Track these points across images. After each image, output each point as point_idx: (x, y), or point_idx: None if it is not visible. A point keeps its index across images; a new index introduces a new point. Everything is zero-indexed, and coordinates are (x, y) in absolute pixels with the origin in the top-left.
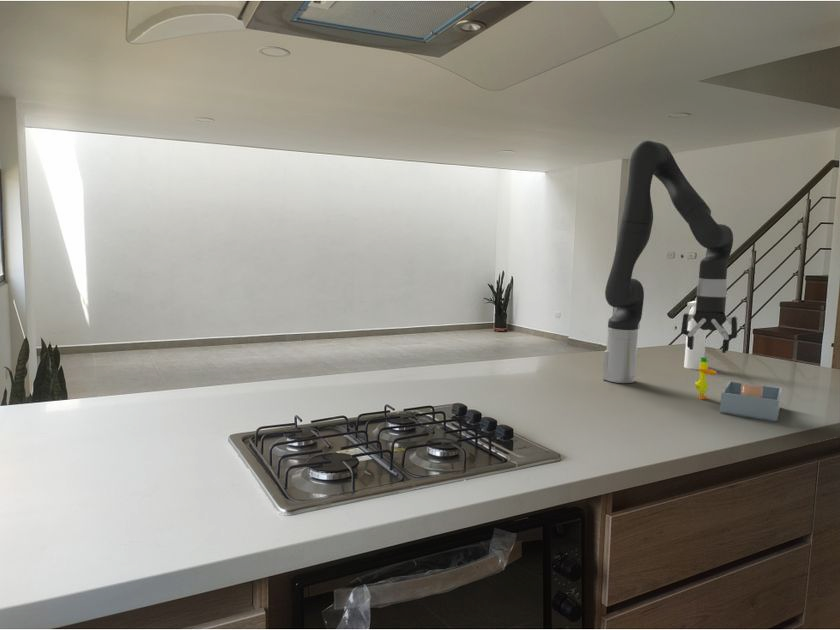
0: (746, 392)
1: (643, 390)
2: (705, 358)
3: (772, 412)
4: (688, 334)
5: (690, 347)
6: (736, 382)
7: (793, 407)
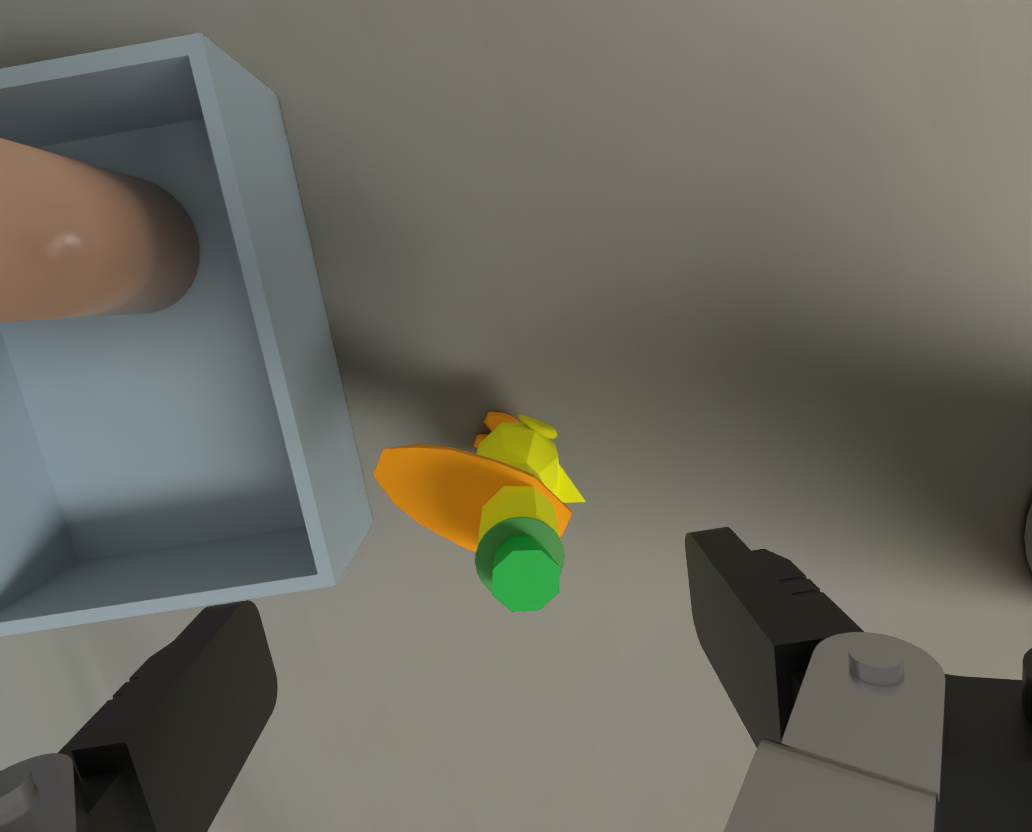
0: (18, 143)
1: (897, 347)
2: (498, 559)
3: None
4: (914, 662)
5: (720, 537)
6: (275, 579)
7: (31, 632)
